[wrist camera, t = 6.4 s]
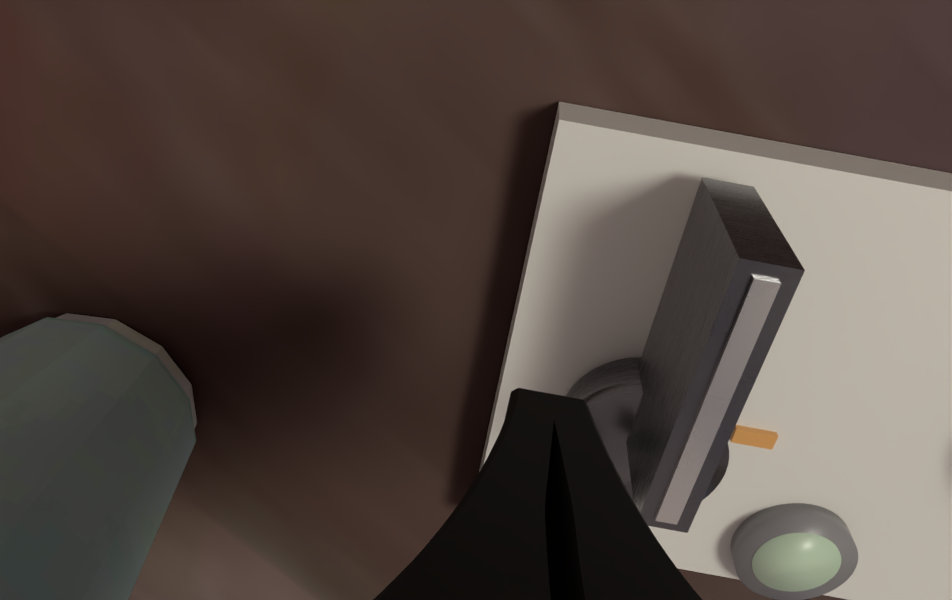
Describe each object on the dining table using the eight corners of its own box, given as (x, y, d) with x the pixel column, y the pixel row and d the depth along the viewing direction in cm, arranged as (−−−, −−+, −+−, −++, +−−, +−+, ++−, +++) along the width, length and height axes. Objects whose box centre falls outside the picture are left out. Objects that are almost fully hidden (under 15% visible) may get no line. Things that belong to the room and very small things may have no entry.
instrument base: (1039, 600, 26) (1078, 660, 24) (473, 496, 26) (466, 548, 24) (1349, 246, 18) (1442, 291, 16) (559, 101, 18) (559, 129, 16)
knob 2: (690, 488, 22) (718, 621, 18) (545, 462, 22) (544, 589, 18) (817, 192, 17) (894, 288, 13) (630, 158, 17) (652, 244, 13)
